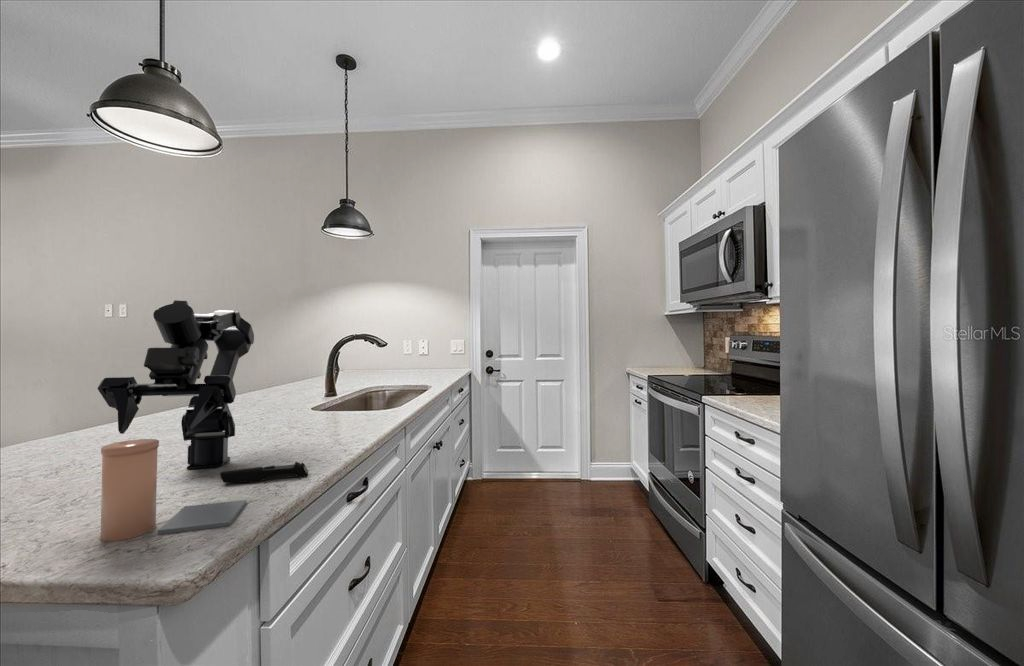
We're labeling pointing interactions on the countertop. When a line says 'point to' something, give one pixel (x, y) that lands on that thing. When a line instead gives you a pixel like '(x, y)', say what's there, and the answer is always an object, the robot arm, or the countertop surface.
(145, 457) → the tumbler
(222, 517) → the coaster
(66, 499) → the countertop surface
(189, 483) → the countertop surface
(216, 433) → the robot arm
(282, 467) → the electric trimmer
